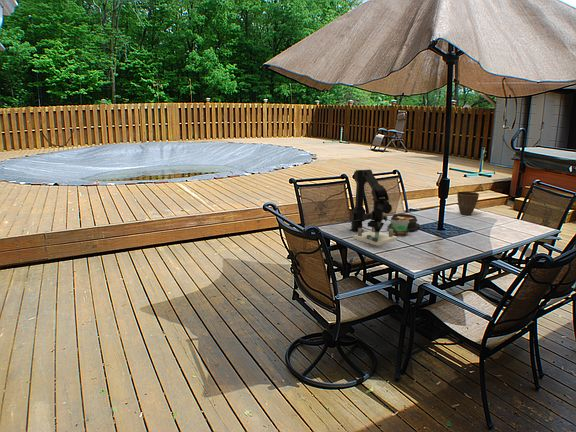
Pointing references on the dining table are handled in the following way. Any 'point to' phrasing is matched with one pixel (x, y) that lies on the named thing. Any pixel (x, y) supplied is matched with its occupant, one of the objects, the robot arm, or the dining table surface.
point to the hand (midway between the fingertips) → (376, 235)
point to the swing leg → (373, 237)
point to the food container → (399, 227)
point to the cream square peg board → (382, 236)
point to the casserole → (412, 219)
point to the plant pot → (467, 202)
